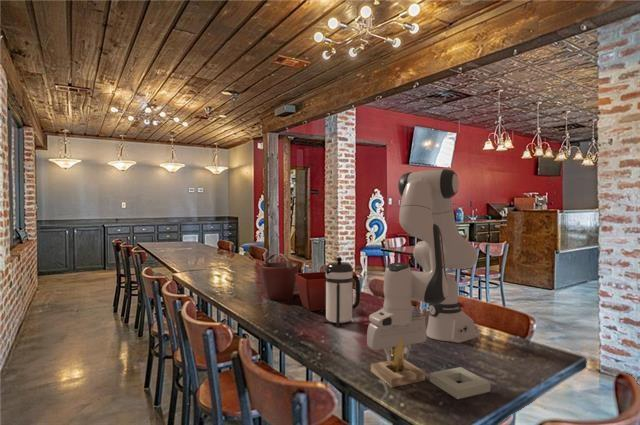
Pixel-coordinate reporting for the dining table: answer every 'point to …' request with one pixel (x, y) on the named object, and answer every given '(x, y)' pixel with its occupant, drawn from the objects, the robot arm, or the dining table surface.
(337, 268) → the coffee press
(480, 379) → the socket block
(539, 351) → the dining table surface
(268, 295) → the bucket
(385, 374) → the birch mount
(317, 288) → the plant pot
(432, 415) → the dining table surface
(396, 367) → the pin
